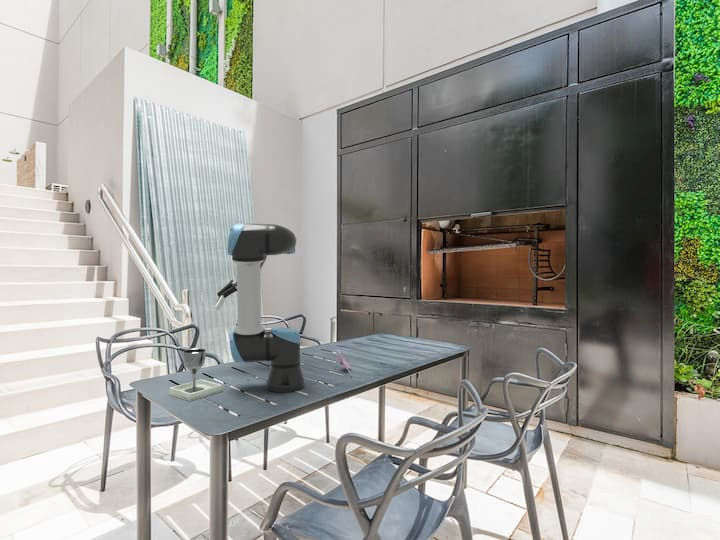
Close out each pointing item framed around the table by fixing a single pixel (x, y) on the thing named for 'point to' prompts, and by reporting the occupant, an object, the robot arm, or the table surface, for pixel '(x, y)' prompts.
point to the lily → (342, 361)
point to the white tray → (208, 390)
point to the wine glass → (194, 365)
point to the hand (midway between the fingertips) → (230, 309)
